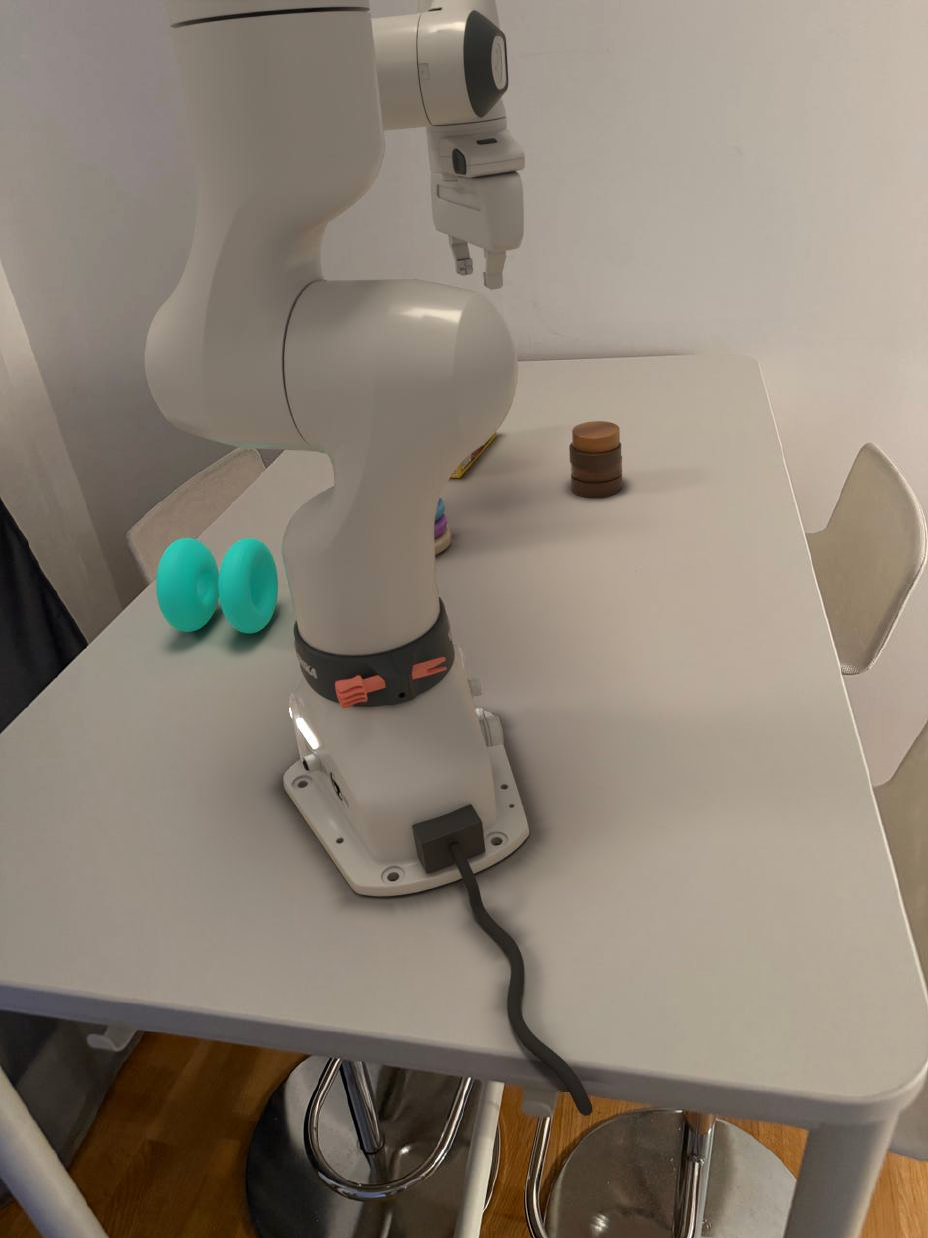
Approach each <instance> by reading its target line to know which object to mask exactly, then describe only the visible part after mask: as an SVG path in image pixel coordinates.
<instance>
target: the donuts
mask: <svg viewBox="0 0 928 1238" xmlns="http://www.w3.org/2000/svg"><path fill="white" fill-rule="evenodd" d="M278 578H279V577H278V570H277V565H276V562H275V559H274V557H273V554H272V552H271V550H270V549H269V548H268V546H267V545H266V544H265V543H264V542H263V541H261V540H260V539H257V538H253V537H244V538H241V539H239V540H237V541H236V542H234V543H233V544H232V545H231V546H230V547H229V548H228V550H227V551H226V552H225V554H224V556H223V558H222V561H221V564H220V566H219V567H218V564H217V561H216V558H215V557H214V555H213V553H212V552H211V550H210V549H209V548H208V546H207V545H205V544H204V543H203V542H202V541H201V540H198V539H196V538H192V537H182V538H179V539H176V540H175V541H172V542H171V544H170V545H168V547H167V548H166V549H165V550H164V552H163V554H162V555H161V558H160V560H159V563H158V567H157V571H156V581H155V590H156V599H157V602H158V606H159V609H160V612H161V615H162V616H163V618H164V619H165V621H166V622H167V623H168V624H169V626H171V627H172V628H174V629H175V630H177V631H180V632H183V633H192V632H196V631H198V630H200V629H202V628H203V627H205V626H206V625H207V624H208V623H209V621H210V619H212V617H213V615H214V614H215V612H216V609H217V606H218V602H219V604H220V607H221V611H222V613H223V616H224V618H225V619H226V621H227V622H228V623H229V625H230V626H232V628H234V630H236V631H238V632H240V633H243V634H255V633H258V632H260V631H262V630H263V629H265V627H266V626H267V625H268V624H269V623H270V621H271V619H272V617H273V615H274V613H275V609H276V606H277V601H278V593H279V579H278Z"/></svg>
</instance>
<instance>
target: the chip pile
mask: <svg viewBox="0 0 928 1238" xmlns="http://www.w3.org/2000/svg"><path fill="white" fill-rule="evenodd" d="M568 447H569V448H568V450H569V453H568V454H569V463H570V488H571V491H572V492H573V494H575V495H577V496H579V497H583V498H588V499H599V498H600V499H601V498H607V497H610V496H611V497H612V496H613V495H616V494H618V493H619V492H621V490H622V489H623V488H622V487H623V456H622V443H621V442H620V444H619V446H618V447H617V448H615V449H613V450H610V451H606V452H600V453H587V452H581V451H578V450H576V449H575V448H574V447H573V444H572V442H570V444H569V446H568Z"/></svg>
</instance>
